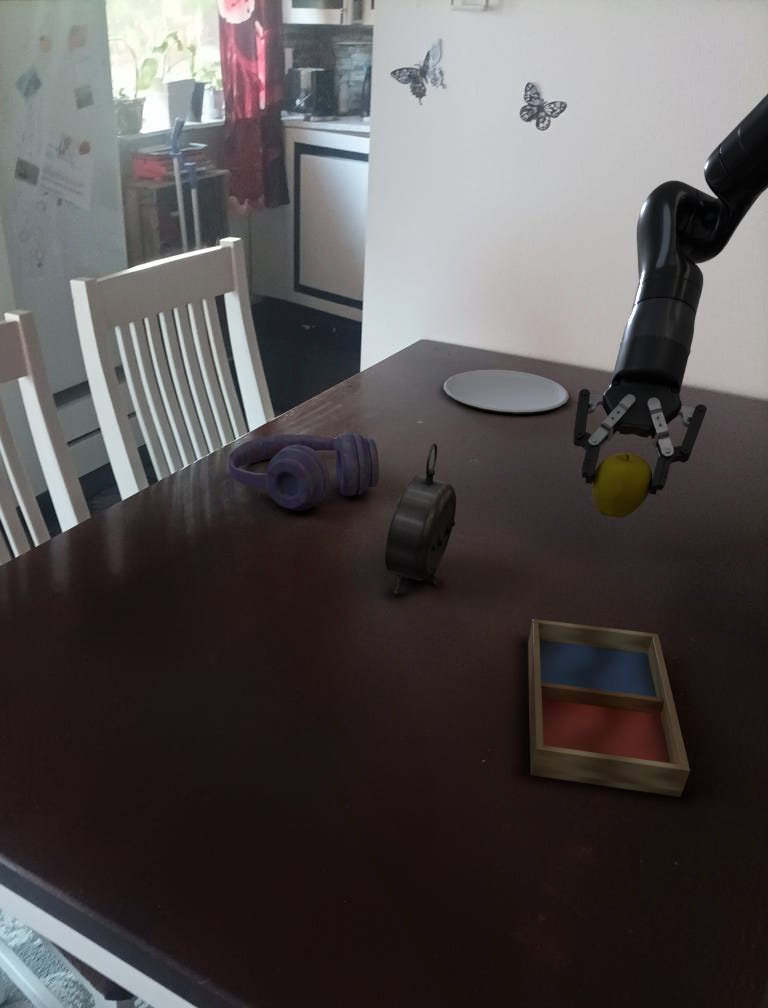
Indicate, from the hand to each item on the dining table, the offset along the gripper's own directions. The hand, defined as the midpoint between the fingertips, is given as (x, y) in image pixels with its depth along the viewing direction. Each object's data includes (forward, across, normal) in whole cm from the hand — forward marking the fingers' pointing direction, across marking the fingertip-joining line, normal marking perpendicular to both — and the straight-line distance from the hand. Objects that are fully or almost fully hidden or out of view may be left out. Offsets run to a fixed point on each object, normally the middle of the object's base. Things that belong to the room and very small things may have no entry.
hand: (620, 486), depth 100 cm
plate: (-30, -22, +44) cm, 58 cm away
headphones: (+3, -41, +10) cm, 42 cm away
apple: (+2, 0, +4) cm, 5 cm away
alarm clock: (+16, -19, -3) cm, 25 cm away
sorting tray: (+28, +3, -14) cm, 31 cm away
